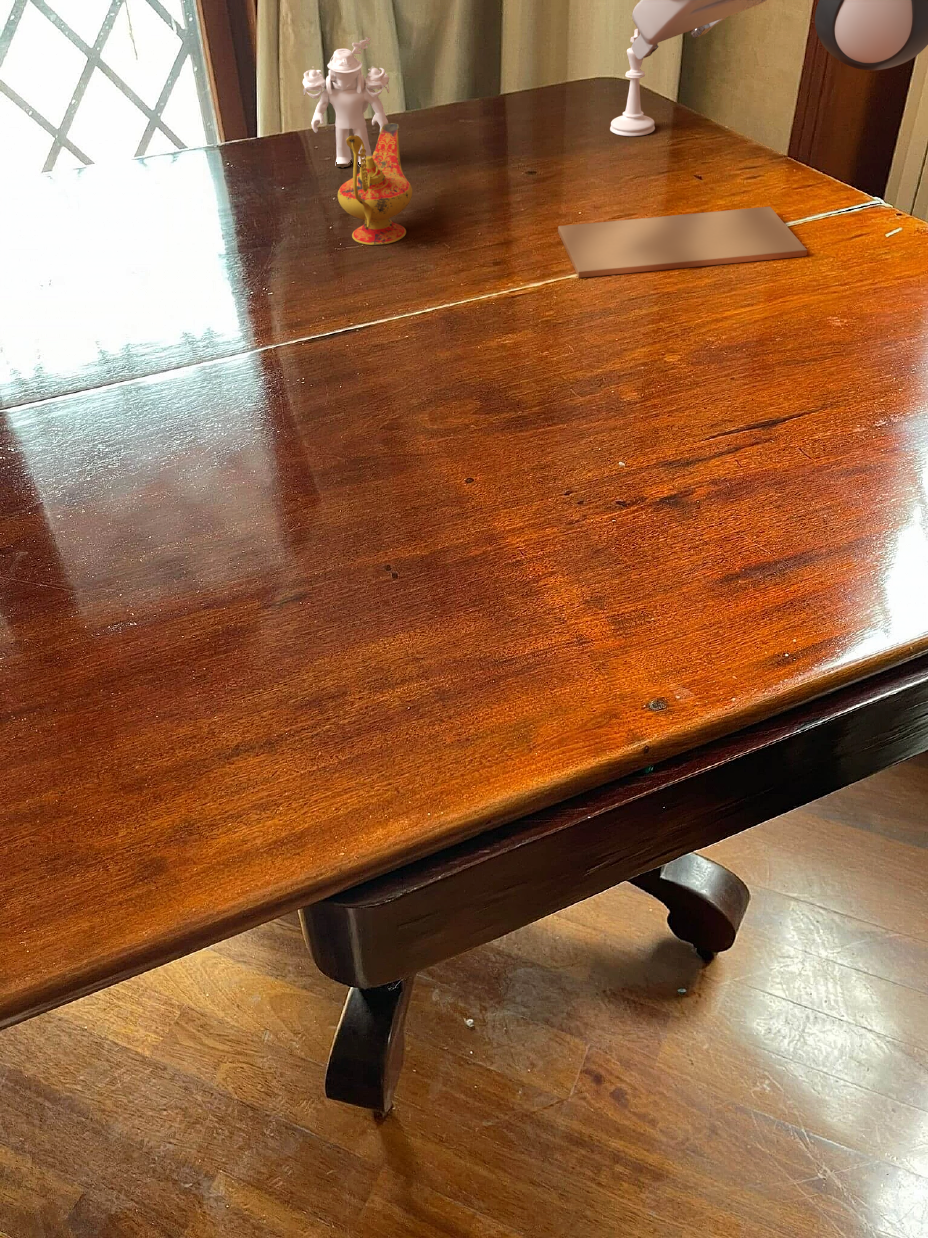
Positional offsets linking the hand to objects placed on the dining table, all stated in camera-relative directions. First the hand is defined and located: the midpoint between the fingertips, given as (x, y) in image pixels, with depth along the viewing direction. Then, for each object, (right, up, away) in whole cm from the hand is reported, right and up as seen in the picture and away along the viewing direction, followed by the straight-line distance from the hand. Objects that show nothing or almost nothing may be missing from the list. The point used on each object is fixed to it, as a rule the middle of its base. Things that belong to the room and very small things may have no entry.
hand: (667, 41), depth 113 cm
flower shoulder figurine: (-33, -11, +5) cm, 35 cm away
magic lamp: (-29, -22, -8) cm, 37 cm away
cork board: (-2, -26, -15) cm, 30 cm away
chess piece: (-2, -5, +9) cm, 10 cm away
